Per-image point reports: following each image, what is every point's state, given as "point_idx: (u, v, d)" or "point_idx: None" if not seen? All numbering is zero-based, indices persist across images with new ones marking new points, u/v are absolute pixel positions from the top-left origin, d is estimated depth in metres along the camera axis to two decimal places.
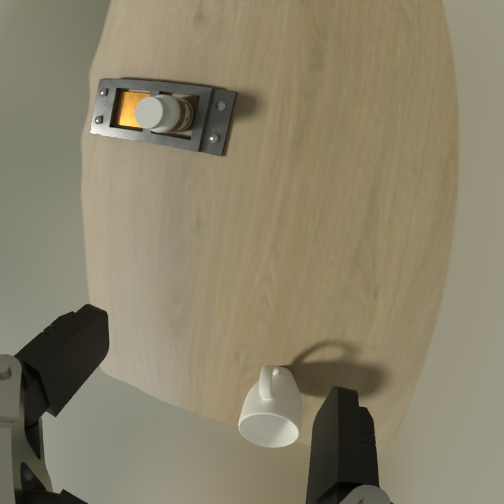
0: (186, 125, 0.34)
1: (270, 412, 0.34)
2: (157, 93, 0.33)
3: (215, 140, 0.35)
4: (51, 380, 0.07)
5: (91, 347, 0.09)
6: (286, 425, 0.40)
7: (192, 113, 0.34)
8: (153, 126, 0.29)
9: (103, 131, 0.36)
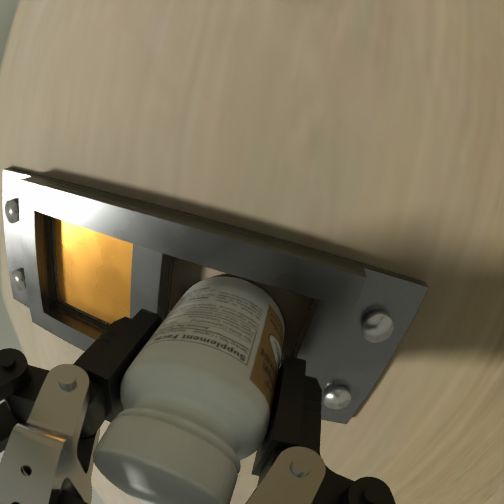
0: None
1: None
2: (156, 260, 0.11)
3: (343, 404, 0.12)
4: (115, 387, 0.08)
5: None
6: None
7: (283, 338, 0.11)
8: None
9: (35, 316, 0.13)
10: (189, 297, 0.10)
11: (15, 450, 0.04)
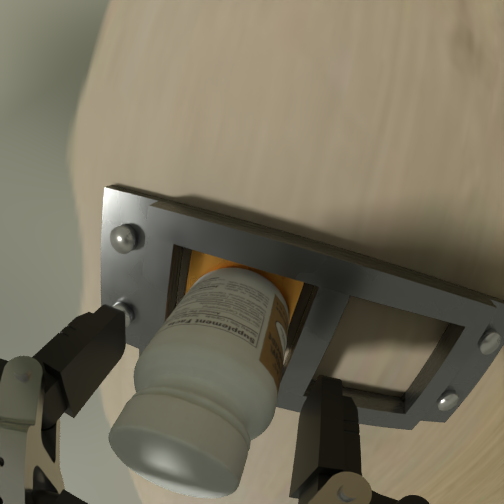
0: None
1: None
2: (342, 302, 0.11)
3: (451, 406, 0.12)
4: (71, 381, 0.07)
5: (109, 347, 0.09)
6: None
7: (288, 326, 0.12)
8: None
9: None
10: (200, 286, 0.11)
11: None
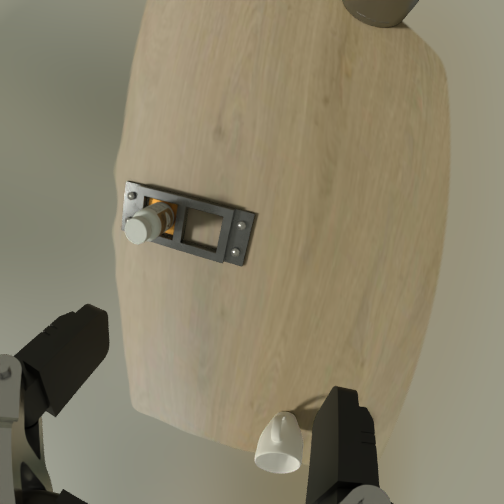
0: (168, 228, 0.43)
1: (279, 452, 0.43)
2: (184, 208, 0.42)
3: (237, 254, 0.44)
4: (51, 380, 0.07)
5: (91, 347, 0.09)
6: (290, 456, 0.49)
7: (173, 217, 0.43)
8: (140, 243, 0.38)
9: None
10: (149, 205, 0.42)
11: None
